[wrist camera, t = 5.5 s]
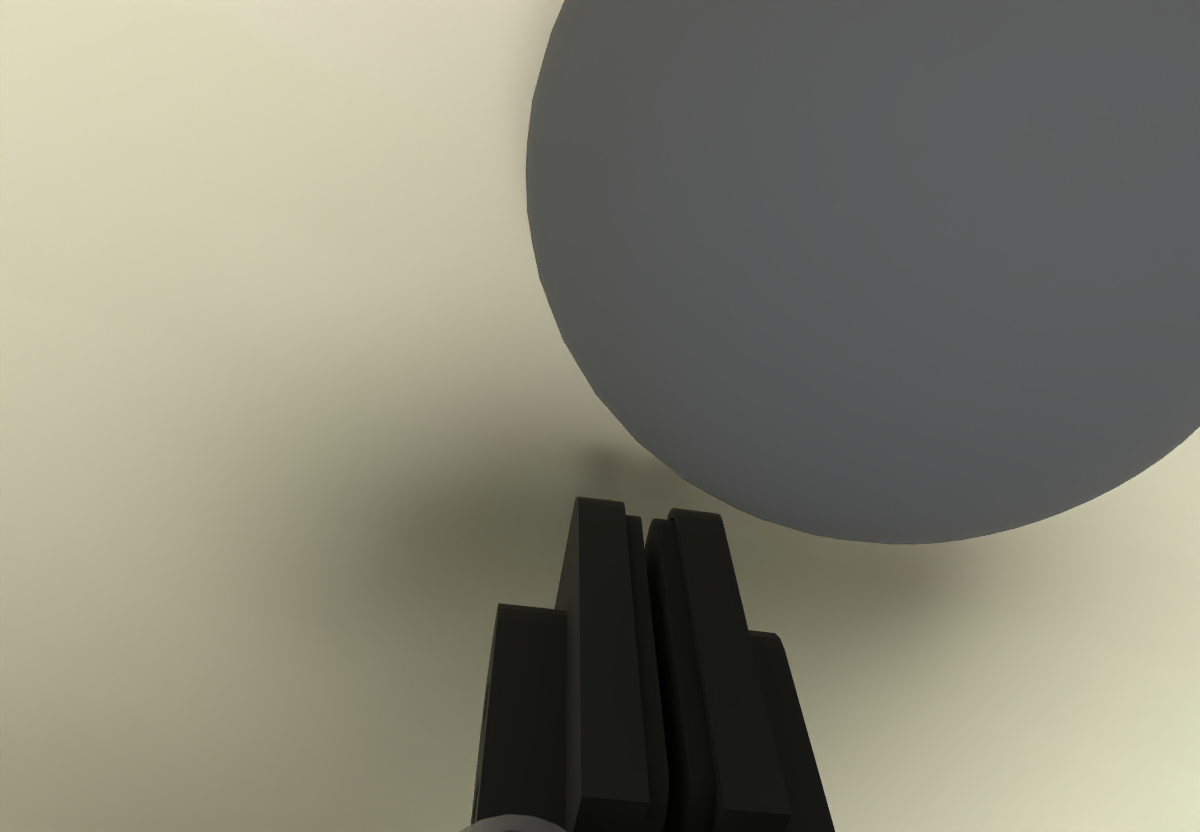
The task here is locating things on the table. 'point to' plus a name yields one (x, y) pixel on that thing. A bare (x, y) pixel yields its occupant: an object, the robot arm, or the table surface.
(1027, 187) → the dark grey ball
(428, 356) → the table surface
